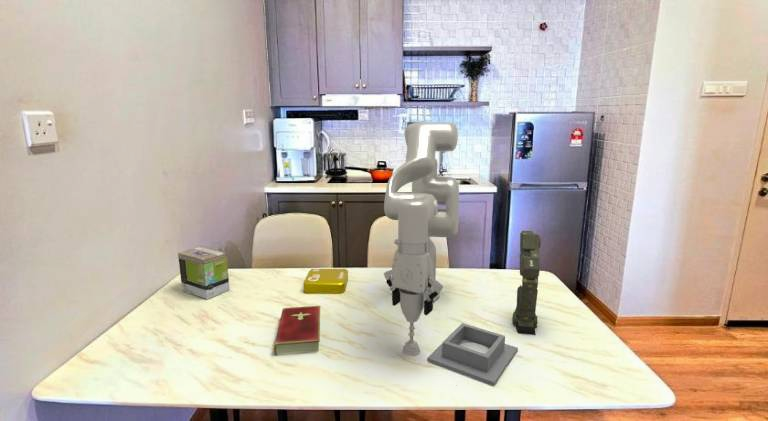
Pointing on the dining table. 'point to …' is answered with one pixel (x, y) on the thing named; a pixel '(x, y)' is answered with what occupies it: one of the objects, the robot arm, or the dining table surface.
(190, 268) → the tea box
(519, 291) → the mechanical leg
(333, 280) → the element tile
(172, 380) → the dining table surface
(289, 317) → the hardcover book
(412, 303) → the chalice
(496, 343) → the housing
